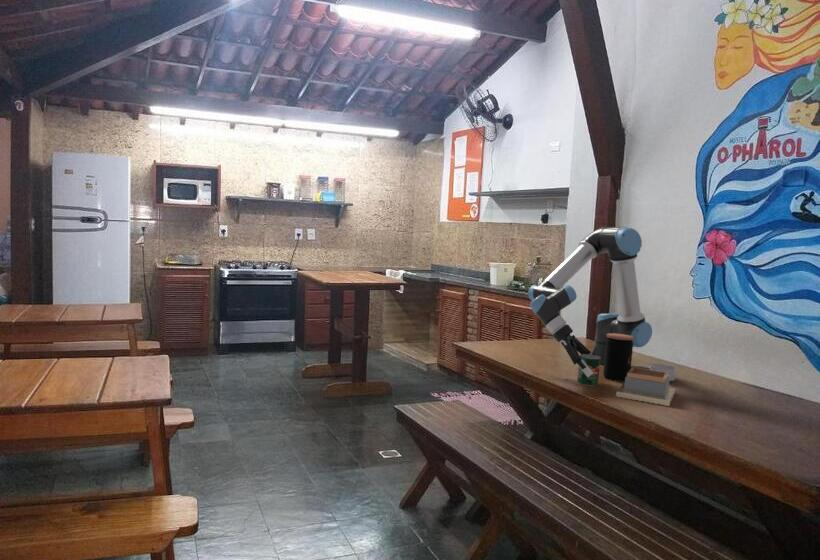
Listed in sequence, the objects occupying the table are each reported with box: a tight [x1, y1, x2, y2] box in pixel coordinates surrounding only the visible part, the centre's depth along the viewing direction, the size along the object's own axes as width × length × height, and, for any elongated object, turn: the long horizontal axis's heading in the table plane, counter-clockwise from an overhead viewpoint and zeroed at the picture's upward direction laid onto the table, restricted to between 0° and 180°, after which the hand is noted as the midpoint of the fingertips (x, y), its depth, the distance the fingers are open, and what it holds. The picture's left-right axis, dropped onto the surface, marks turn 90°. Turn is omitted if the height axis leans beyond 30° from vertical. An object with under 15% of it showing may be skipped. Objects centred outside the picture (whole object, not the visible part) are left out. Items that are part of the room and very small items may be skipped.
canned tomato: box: [576, 353, 601, 387], centre depth 237 cm, size 8×8×11 cm
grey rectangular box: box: [615, 367, 676, 407], centre depth 225 cm, size 22×18×8 cm
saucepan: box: [631, 363, 678, 382], centre depth 253 cm, size 12×20×6 cm, turn 102°
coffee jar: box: [602, 333, 634, 382], centre depth 249 cm, size 11×11×18 cm
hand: (594, 372), depth 236 cm, fingers open, 13 cm apart
